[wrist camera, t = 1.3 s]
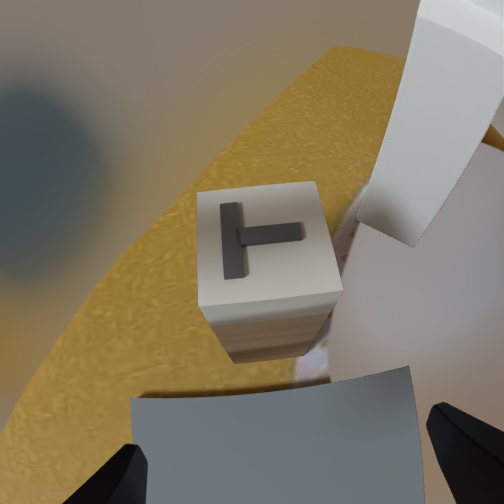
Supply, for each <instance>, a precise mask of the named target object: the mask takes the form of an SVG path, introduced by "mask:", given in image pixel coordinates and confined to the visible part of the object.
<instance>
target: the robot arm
mask: <svg viewBox="0 0 504 504" xmlns="http://www.w3.org/2000/svg"><path fill="white" fill-rule="evenodd" d="M426 426H427V431H428V433H429V436H430V439H431V442H432V445H433V448H434V451H435V454H436V457H437V460H438V463H439V465H440V468H441V470H442V472H443V474H444V477H445V479H446V481H447V483H448V485H449V488H450V490H451V492H452V494H453V497H454V499H455V501H456V504H504V432H503V431H501V430H499V429H497V428H495V427H493V426H491V425H489V424H487V423H485V422H483V421H481V420H479V419H477V418H475V417H473V416H471V415H469V414H467V413H465V412H463V411H461V410H459V409H457V408H455V407H453V406H451V405H449V404H448V403H445V402H441V403H438V404H436V405H433V407H432V408H431V411H430V414H429V417H428V420H427V423H426ZM147 475H148V461H147V459H146V457H145V455H144V453H143V451H142V449H141V448H140V446H139V445H137V444H125V445H124V446H123V447H122V448H121V449H120V450H119V451H117V452H116V453H115V454H114V455H113V456H112V457H111V458H110V459H109V460H108V461H107V462H106V463H105V464H104V465H103V466H102V467H101V468H100V469H99V470H98V471H97V472H96V473H95V474H94V475H93V476H91V477H90V478H89V479H88V480H87V481H86V482H85V483H84V484H83V485H82V486H81V487H80V488H79V489H78V490H77V491H75V492H74V493H73V494H72V495H71V496H70V497H69V498H68V499H67V500H66V501H65V502H63V503H62V504H146V492H147Z"/></svg>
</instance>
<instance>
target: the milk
mask: <svg viewBox="0 0 504 504" xmlns="http://www.w3.org/2000/svg"><path fill="white" fill-rule="evenodd" d="M503 97H504V0H421V2H420V5H419V9H418V12H417V17H416V21H415V27H414V30H413V35H412V40H411V43H410V48H409V52H408V56H407V60H406V64H405V68H404V71H403V75H402V79H401V83H400V86H399V90H398V93H397V97H396V100H395V104H394V107H393V111H392V114H391V117H390V120H389V124H388V127H387V130H386V133H385V136H384V140H383V143H382V146H381V149H380V152H379V155H378V158H377V161H376V164H375V167H374V170H373V172H372V175H371V178H370V181H369V184H368V187H367V189H366V192H365V195H364V198H363V200H362V203H361V206H360V208H359V211H358V214H357V216H356V220H358V221H360V222H362V223H364V224H366V225H368V226H370V227H372V228H374V229H377V230H379V231H381V232H383V233H385V234H387V235H389V236H391V237H393V238H395V239H397V240H399V241H401V242H403V243H405V244H407V245H409V246H411V247H414V246H415V245H416V243H417V242H418V241H419V239H420V238H421V236H422V235H423V234H424V232H425V231H426V229H427V228H428V226H429V225H430V224H431V222H432V221H433V219H434V218H435V216H436V215H437V213H438V212H439V210H440V209H441V207H442V206H443V204H444V202H445V201H446V199H447V198H448V196H449V195H450V193H451V192H452V190H453V189H454V187H455V185H456V184H457V182H458V180H459V179H460V177H461V176H462V174H463V172H464V170H465V169H466V167H467V165H468V164H469V162H470V160H471V158H472V157H473V155H474V153H475V152H476V150H477V148H478V146H479V144H480V142H481V141H482V139H483V137H484V135H485V133H486V131H487V129H488V127H489V126H490V124H491V122H492V120H493V118H494V116H495V113H496V112H497V110H498V107H499V105H500V103H501V101H502V99H503Z"/></svg>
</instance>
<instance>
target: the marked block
mask: <svg viewBox="0 0 504 504" xmlns="http://www.w3.org/2000/svg"><path fill="white" fill-rule="evenodd" d="M197 267H198V304H199V308H200V310H201V311H202V313H203V315H204V316H205V318H206V320H207V321H208V323H209V325H210V326H211V328H212V329H213V331H214V333H215V334H216V336H217V338H218V339H219V341H220V342H221V344H222V346H223V347H224V349H225V350H226V352H227V353H228V355H229V357H230V358H231V360H232V361H233V363H234V364H237V363H247V362H257V361H267V360H275V359H283V358H291V357H298V356H304V355H305V353H306V352H307V350H308V348H309V347H310V345H311V344H312V342H313V340H314V339H315V337H316V336H317V334H318V332H319V331H320V329H321V327H322V326H323V324H324V322H325V321H326V319H327V317H328V316H329V314H330V312H331V310H332V309H333V307H334V305H335V304H336V302H337V300H338V298H339V296H340V295H341V293H342V291H343V287H342V283H341V278H340V274H339V270H338V266H337V262H336V258H335V253H334V249H333V245H332V242H331V238H330V234H329V230H328V226H327V222H326V219H325V215H324V211H323V208H322V204H321V201H320V197H319V194H318V190H317V187H316V183H315V181H309V182H296V183H284V184H273V185H262V186H252V187H242V188H233V189H224V190H216V191H207V192H199V193H197Z"/></svg>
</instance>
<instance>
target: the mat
mask: <svg viewBox="0 0 504 504" xmlns="http://www.w3.org/2000/svg"><path fill="white" fill-rule="evenodd" d="M130 402H131V423H132V438H133V444H137V445H139V446H140V448H141V449H142V451H143V453H144V455H145V457H146V459H147V461H148V475H147V492H146V504H425V495H424V476H423V462H422V452H421V442H420V433H419V425H418V417H417V410H416V404H415V397H414V392H413V385H412V380H411V375H410V369H409V366H406V367H402V368H398V369H394V370H390V371H386V372H382V373H378V374H374V375H369V376H364V377H359V378H355V379H350V380H345V381H339V382H334V383H328V384H323V385H317V386H310V387H304V388H297V389H290V390H282V391H274V392H265V393H255V394H245V395H232V396H217V397H197V398H130Z"/></svg>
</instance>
